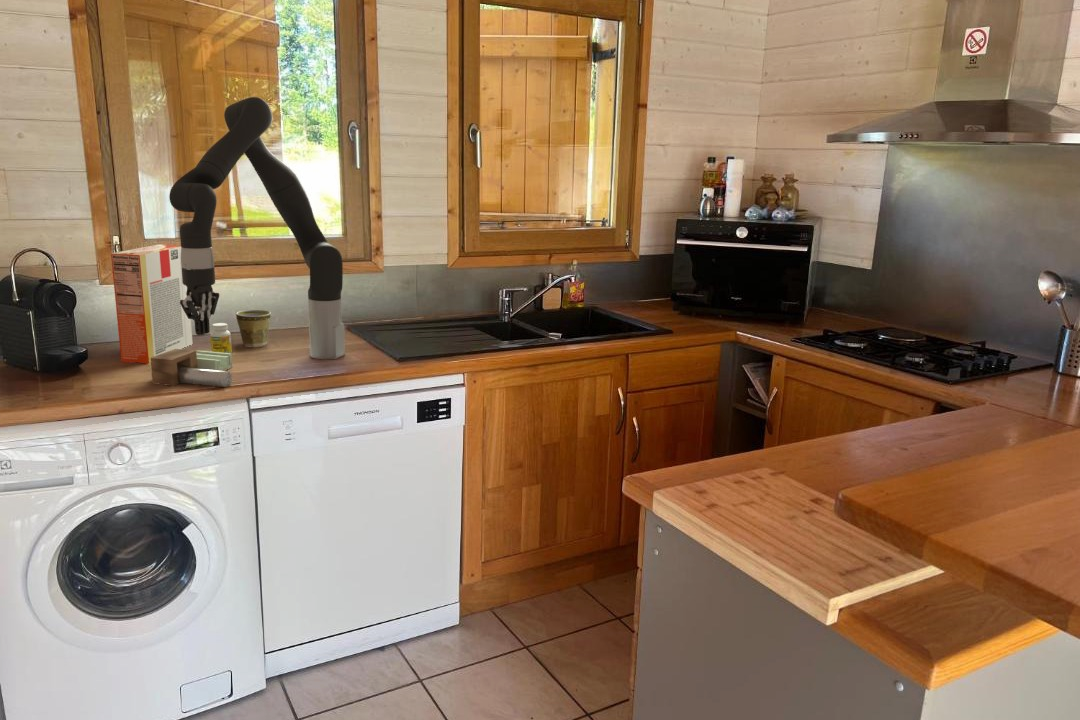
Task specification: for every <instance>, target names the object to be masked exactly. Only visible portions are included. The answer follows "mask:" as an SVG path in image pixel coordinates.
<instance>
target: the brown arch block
mask: <svg viewBox="0 0 1080 720" xmlns="http://www.w3.org/2000/svg"><path fill="white" fill-rule="evenodd" d="M196 353H197V350H192V349H174V350H171V351H168V352H165V353H163V354H160V355H157V356H154V357H151V363H150V369H151V377H152V378H151V379H152V384H154V383H159V384H158V385H164V384H167V386H177V385H178V384H179V382H178V373H177V367H187V368H197V355H196Z"/></svg>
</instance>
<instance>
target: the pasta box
mask: <svg viewBox="0 0 1080 720" xmlns="http://www.w3.org/2000/svg"><path fill="white" fill-rule="evenodd" d="M110 258H111V266H112V267H111V268H112V270H111V271H112V279H113V280H112V281H113V288H114V301H115V311H116V319H117V329H118V331H117V332H118V338H119V349H120V359H121V362H122V363H133V362H140V363H139V364H148V363H149V364H151V357H154V356H157V355H160V354H163V353H165V352H168V351H171V350H174V349H182V348H184V347H186V348H188V347H190V346H189V345H191V346H192V344H193V332H192V331H193V330H192V319H188V317H187V315H186V313H185V312H184V310H183V308H182V306H181V304H180V301H181V300H185V298H186V297H187V295H186V292H187V286H186V285H184V284H183V282H182V269H181V245H176V244H174V245H173V244H162V243H161V244H154V245H149V246H144V247H143V246H142V247H138V248H134V249H128V250H122V251H117V252H112V253H110ZM187 346H188V347H187ZM184 349H185V348H184Z"/></svg>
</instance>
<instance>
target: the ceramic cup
mask: <svg viewBox="0 0 1080 720" xmlns="http://www.w3.org/2000/svg"><path fill="white" fill-rule="evenodd" d="M271 313H272V312H271V311H269V310H265V309H263V310H262V309H247V310H240V311H237V312H236V313H235V316H236V321H237V325H238V328H239V332H240V333H239V334H240V336H241V340H242V344H243V345H244V347H246V346H252V347H251V348H257V347H256V346H262V347H264V346H266V345H267V343H268V339H269V331H270V330H269V329H270V328H269V327H270V323H271V316H272V314H271ZM263 345H264V346H263Z"/></svg>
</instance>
